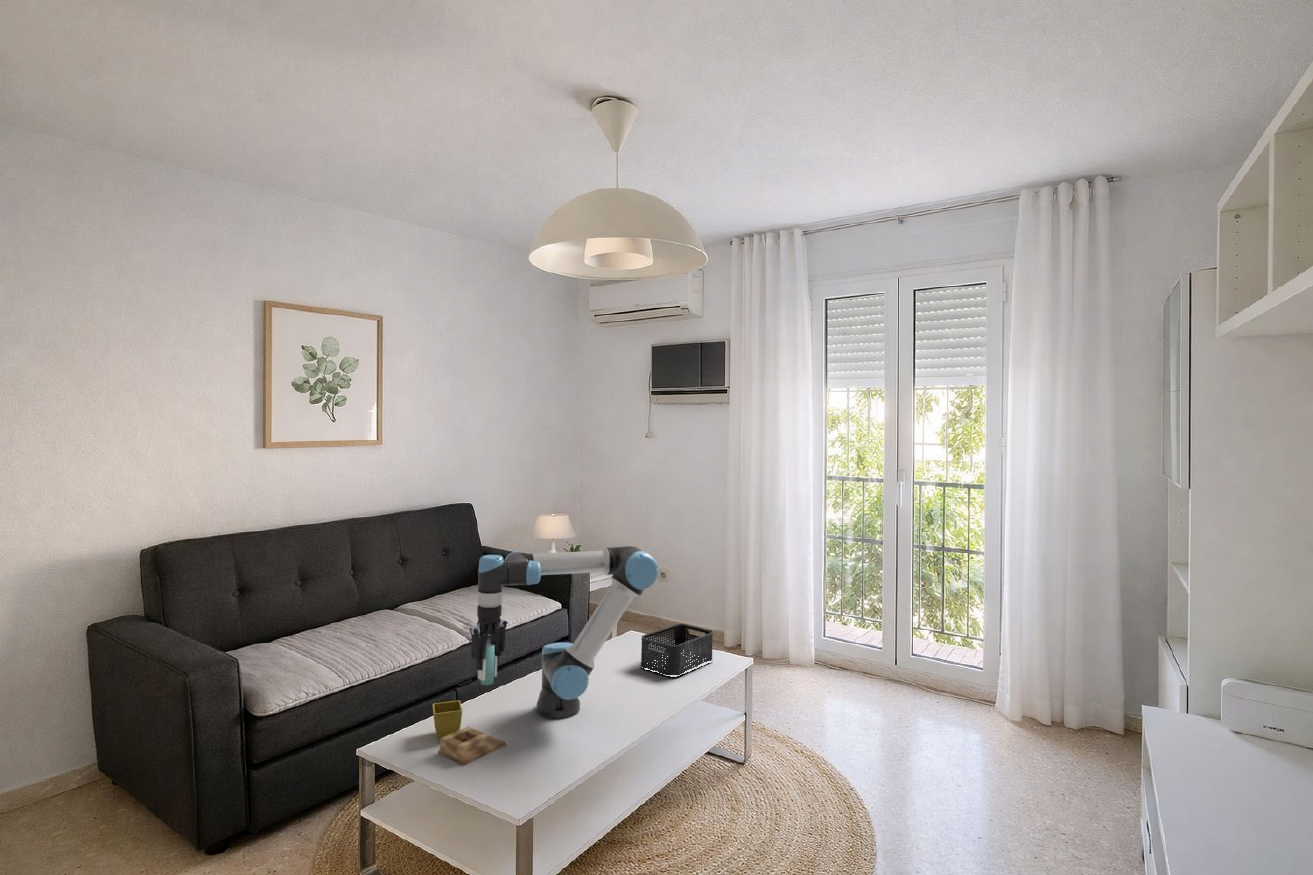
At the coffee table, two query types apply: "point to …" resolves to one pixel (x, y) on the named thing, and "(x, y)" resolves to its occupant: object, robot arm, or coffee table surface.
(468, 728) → the socket board
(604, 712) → the coffee table surface
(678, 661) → the storage bin
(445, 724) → the flower pot
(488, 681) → the peg
